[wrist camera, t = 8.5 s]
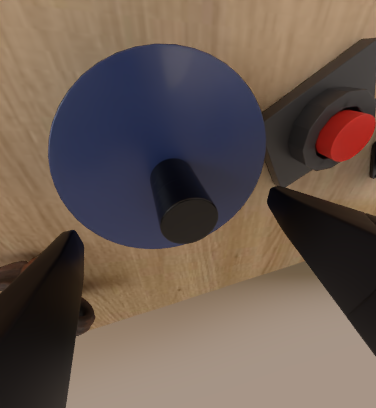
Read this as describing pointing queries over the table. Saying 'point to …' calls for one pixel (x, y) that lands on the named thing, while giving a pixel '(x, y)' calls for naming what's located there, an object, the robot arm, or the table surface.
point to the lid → (157, 146)
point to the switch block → (318, 112)
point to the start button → (345, 135)
